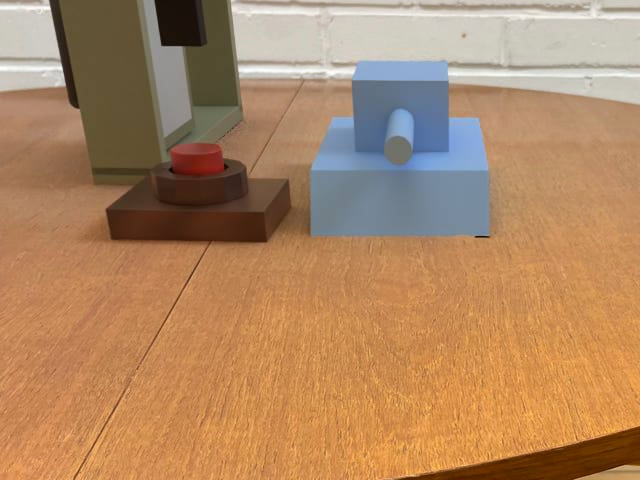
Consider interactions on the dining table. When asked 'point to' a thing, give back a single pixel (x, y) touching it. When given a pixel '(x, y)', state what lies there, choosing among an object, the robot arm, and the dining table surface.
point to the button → (197, 159)
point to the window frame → (148, 84)
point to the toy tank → (400, 159)
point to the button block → (200, 206)
